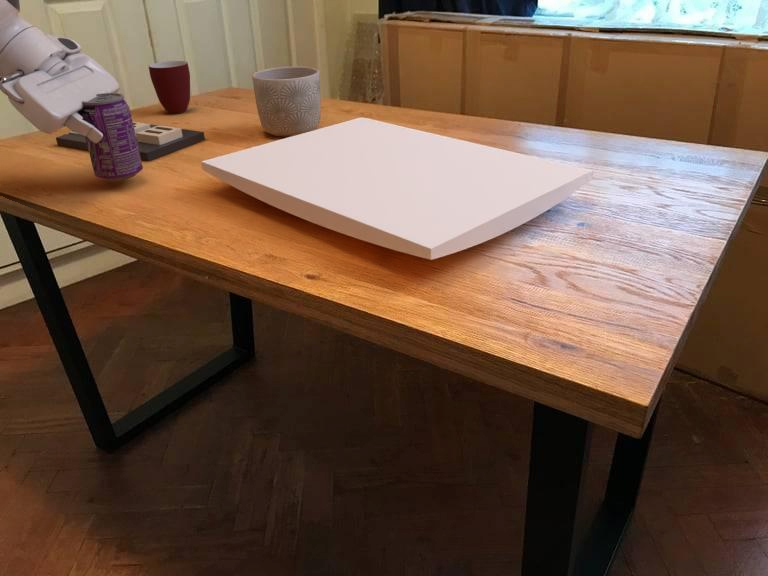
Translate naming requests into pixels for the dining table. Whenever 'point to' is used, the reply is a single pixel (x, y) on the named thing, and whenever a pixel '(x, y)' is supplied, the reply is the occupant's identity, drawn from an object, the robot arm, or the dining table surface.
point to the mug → (171, 85)
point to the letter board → (142, 147)
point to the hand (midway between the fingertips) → (114, 131)
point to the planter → (288, 100)
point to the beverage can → (112, 137)
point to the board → (400, 185)
